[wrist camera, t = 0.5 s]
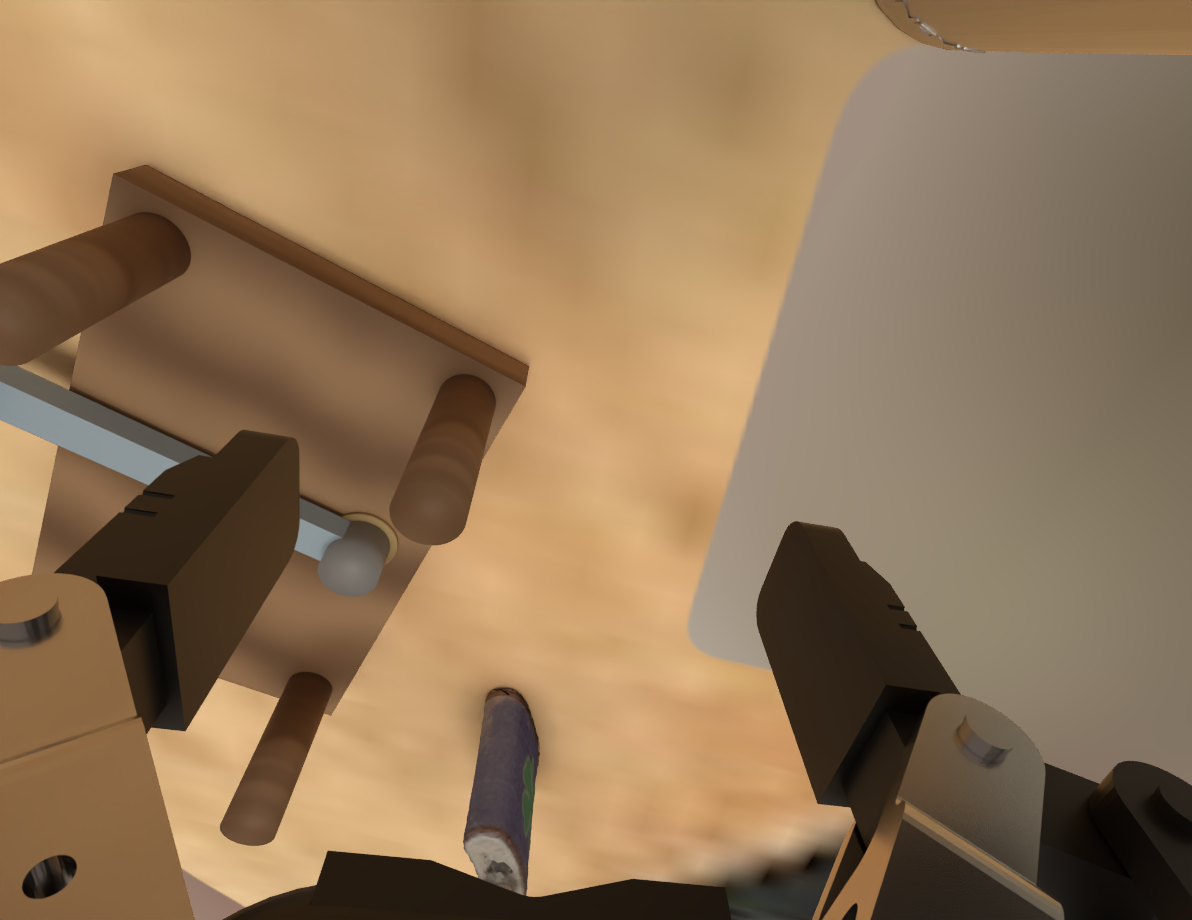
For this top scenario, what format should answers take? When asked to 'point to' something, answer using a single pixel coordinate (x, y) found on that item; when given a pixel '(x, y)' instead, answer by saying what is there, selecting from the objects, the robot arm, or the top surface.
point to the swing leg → (145, 454)
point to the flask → (503, 793)
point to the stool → (262, 420)
